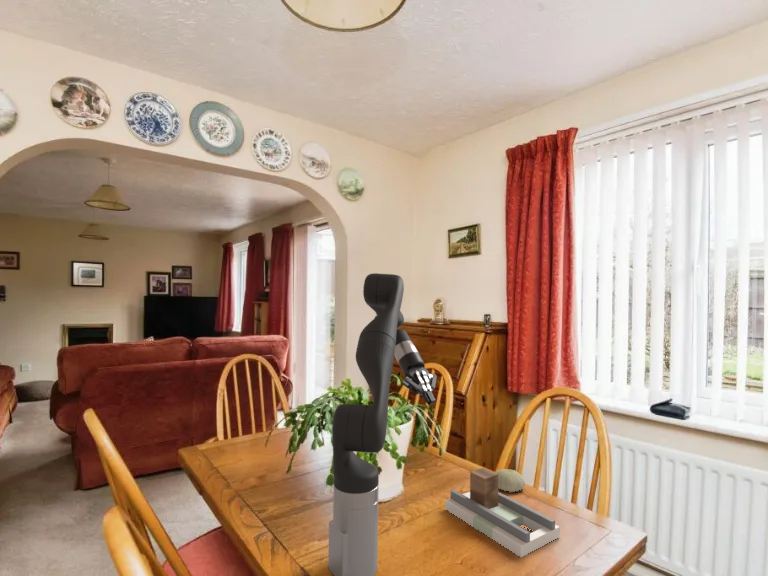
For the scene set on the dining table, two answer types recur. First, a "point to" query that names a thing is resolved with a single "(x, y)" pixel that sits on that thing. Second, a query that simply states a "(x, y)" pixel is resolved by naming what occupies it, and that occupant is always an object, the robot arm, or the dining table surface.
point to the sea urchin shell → (510, 480)
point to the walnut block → (484, 487)
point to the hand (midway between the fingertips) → (432, 403)
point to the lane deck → (505, 522)
